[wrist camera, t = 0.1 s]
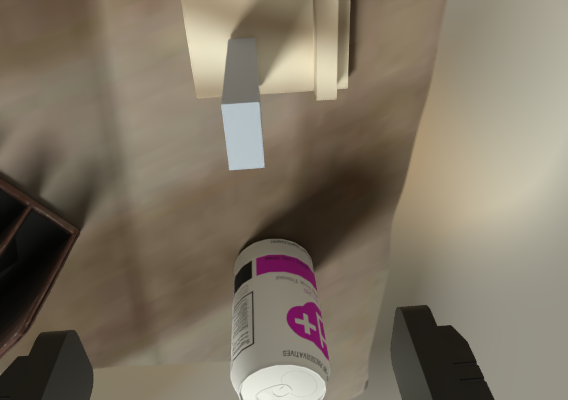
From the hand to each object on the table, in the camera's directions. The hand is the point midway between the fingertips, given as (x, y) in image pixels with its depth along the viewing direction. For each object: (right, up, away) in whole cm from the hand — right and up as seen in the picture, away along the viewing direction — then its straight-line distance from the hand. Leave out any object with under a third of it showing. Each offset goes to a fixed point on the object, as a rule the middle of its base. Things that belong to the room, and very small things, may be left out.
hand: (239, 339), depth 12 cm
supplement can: (0, -3, +38) cm, 38 cm away
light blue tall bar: (-2, +14, +24) cm, 27 cm away
